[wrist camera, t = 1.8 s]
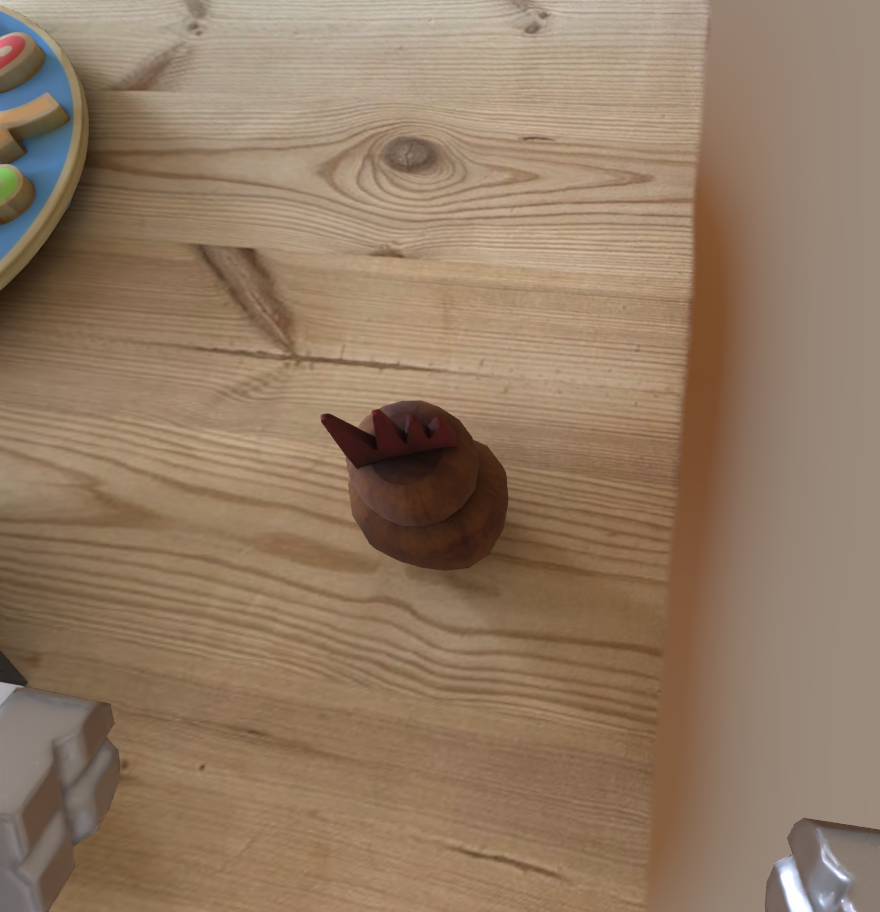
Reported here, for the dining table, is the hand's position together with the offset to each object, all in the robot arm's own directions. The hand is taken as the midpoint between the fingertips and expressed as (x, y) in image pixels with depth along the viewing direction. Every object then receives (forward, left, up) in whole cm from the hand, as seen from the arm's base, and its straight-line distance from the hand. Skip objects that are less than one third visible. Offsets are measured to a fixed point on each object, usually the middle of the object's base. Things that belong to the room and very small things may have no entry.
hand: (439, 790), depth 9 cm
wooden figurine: (+9, -5, -26) cm, 28 cm away
